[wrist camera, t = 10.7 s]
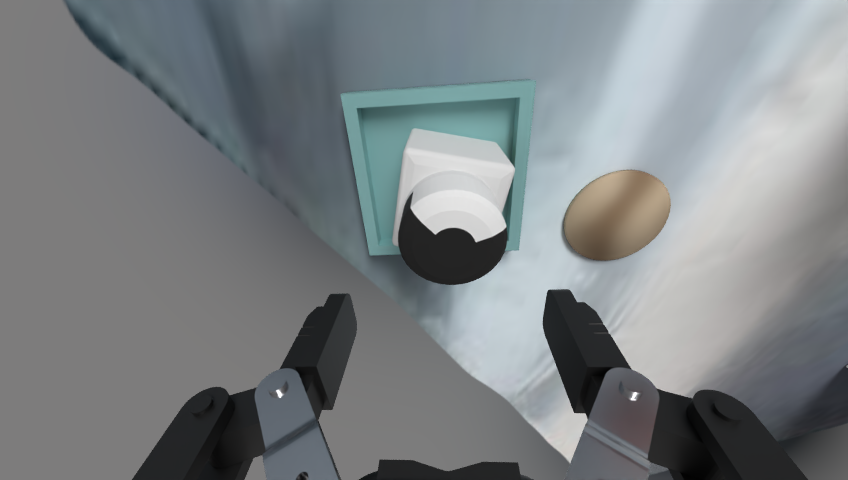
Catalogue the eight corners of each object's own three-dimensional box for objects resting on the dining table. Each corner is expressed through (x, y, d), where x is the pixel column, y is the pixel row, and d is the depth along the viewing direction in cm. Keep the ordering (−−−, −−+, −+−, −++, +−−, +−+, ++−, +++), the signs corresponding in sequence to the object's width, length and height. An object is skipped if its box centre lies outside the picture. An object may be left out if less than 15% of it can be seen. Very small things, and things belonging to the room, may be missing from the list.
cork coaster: (681, 167, 26) (685, 168, 26) (650, 256, 31) (653, 258, 30) (572, 172, 27) (574, 174, 26) (557, 259, 31) (558, 261, 31)
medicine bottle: (477, 219, 29) (499, 308, 18) (400, 206, 28) (380, 290, 18) (498, 141, 25) (541, 197, 15) (411, 126, 25) (393, 172, 15)
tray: (528, 79, 23) (536, 80, 22) (514, 239, 30) (518, 250, 29) (347, 92, 24) (340, 94, 23) (373, 244, 31) (369, 255, 30)
